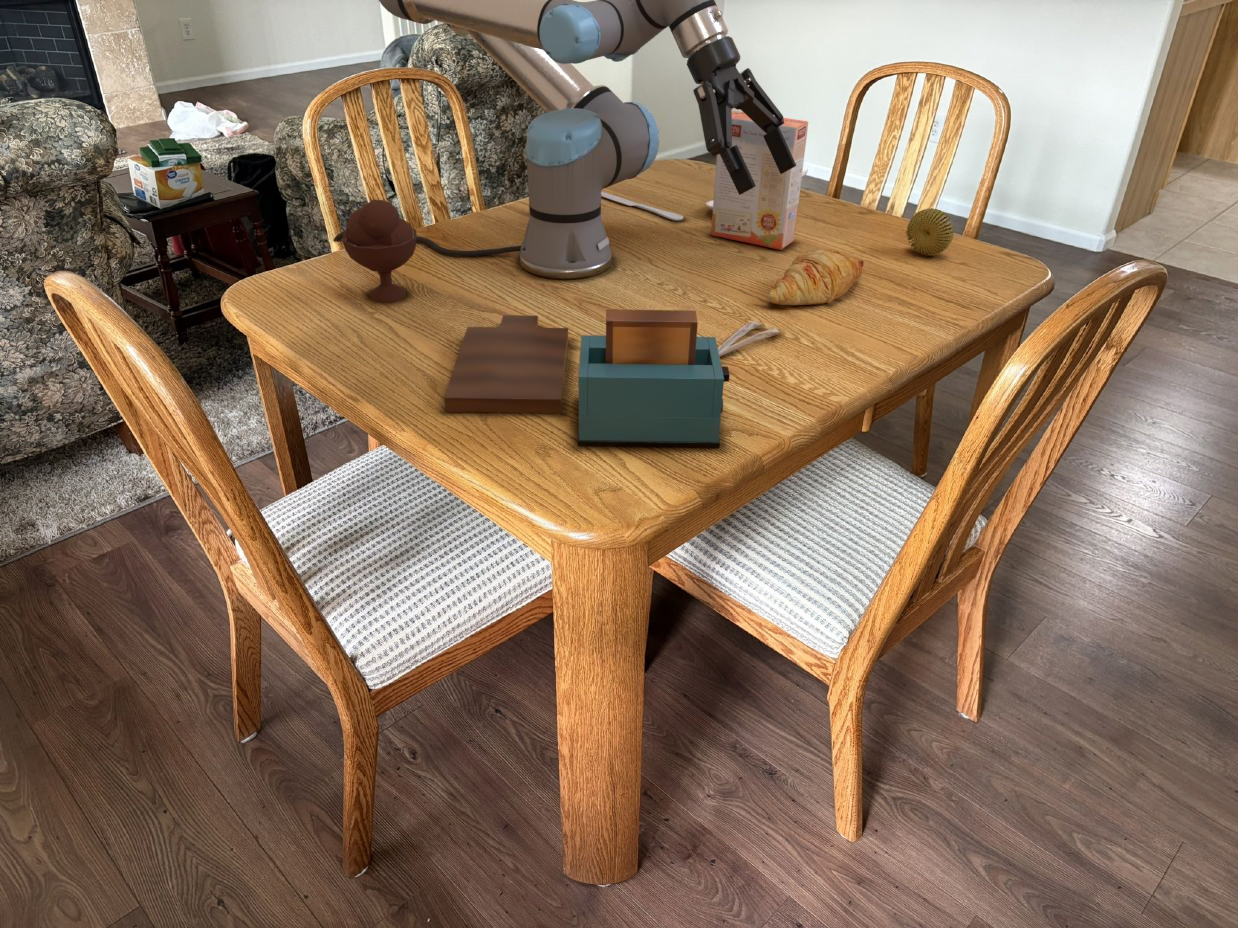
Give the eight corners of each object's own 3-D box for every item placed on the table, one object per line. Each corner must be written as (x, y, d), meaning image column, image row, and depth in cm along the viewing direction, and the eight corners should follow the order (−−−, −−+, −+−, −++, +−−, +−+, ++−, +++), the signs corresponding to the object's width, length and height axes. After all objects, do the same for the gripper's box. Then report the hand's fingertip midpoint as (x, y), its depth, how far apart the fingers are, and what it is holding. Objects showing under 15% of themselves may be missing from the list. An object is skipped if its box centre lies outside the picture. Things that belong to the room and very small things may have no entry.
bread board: (560, 413, 110) (560, 399, 109) (445, 412, 110) (444, 397, 109) (569, 328, 130) (569, 315, 129) (472, 327, 130) (471, 314, 129)
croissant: (781, 336, 137) (805, 300, 130) (740, 288, 140) (762, 252, 133) (867, 298, 148) (893, 264, 142) (828, 255, 151) (852, 220, 145)
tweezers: (754, 326, 131) (755, 314, 130) (781, 337, 129) (782, 324, 128) (676, 373, 122) (676, 360, 120) (703, 385, 119) (703, 372, 118)
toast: (605, 400, 105) (605, 320, 99) (605, 387, 107) (606, 309, 102) (692, 401, 105) (697, 321, 99) (690, 388, 107) (695, 310, 102)
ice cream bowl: (437, 288, 141) (428, 193, 133) (394, 315, 133) (380, 214, 124) (382, 276, 145) (369, 182, 136) (336, 301, 136) (319, 203, 128)
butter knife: (675, 220, 168) (686, 216, 170) (588, 191, 182) (598, 188, 184) (675, 222, 169) (686, 218, 170) (588, 193, 183) (598, 190, 184)
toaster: (577, 446, 104) (576, 377, 99) (580, 400, 113) (579, 334, 108) (728, 448, 104) (735, 379, 99) (719, 401, 113) (725, 336, 108)
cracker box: (794, 242, 161) (810, 120, 150) (781, 252, 157) (796, 127, 145) (724, 226, 167) (734, 108, 156) (709, 236, 163) (718, 115, 152)
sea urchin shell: (951, 257, 156) (962, 212, 152) (941, 263, 154) (952, 217, 149) (909, 246, 160) (918, 201, 156) (898, 251, 158) (907, 206, 154)
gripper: (681, 45, 123) (749, 189, 127) (766, 24, 140) (823, 151, 144) (643, 73, 128) (709, 211, 132) (729, 50, 145) (785, 172, 149)
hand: (768, 180), depth 138 cm, fingers open, 13 cm apart
